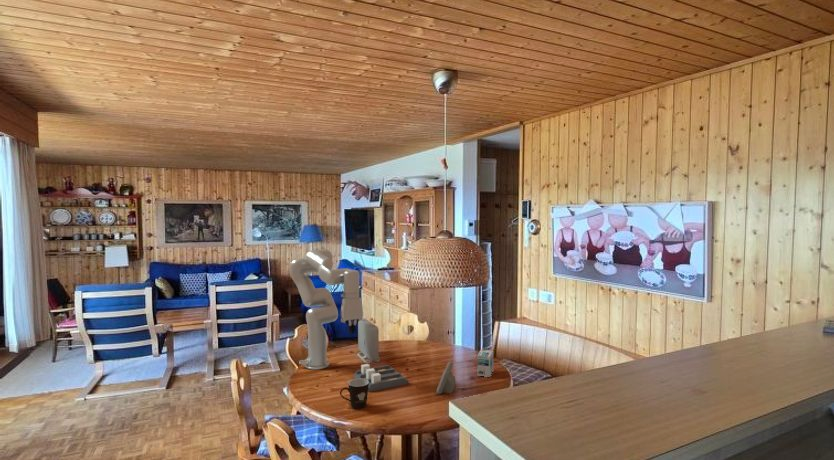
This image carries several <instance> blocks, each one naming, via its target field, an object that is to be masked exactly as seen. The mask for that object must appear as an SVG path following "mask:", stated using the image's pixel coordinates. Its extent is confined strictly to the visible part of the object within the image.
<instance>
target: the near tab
mask: <svg viewBox="0 0 834 460" xmlns="http://www.w3.org/2000/svg"><path fill="white" fill-rule="evenodd" d="M377 382H381V375H380V374H379V373H374V374H371V383H377Z"/></svg>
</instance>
